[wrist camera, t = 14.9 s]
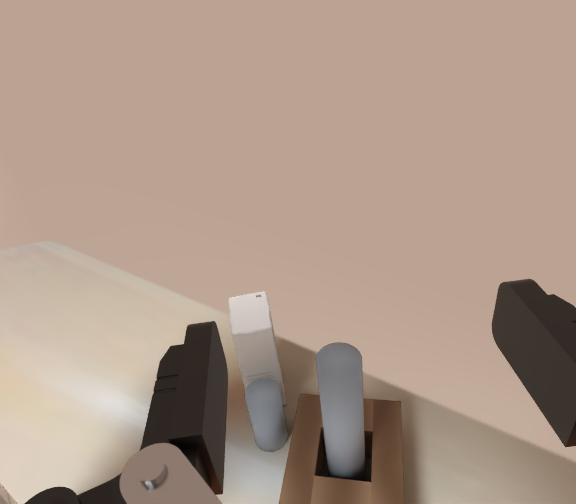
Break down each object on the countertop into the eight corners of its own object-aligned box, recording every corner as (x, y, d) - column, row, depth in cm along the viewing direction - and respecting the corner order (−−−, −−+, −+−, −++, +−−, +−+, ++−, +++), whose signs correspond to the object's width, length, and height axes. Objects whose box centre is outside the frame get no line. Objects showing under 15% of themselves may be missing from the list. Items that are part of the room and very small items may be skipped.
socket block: (282, 539, 38) (276, 515, 35) (303, 418, 47) (299, 393, 45) (403, 557, 36) (405, 532, 33) (399, 426, 45) (400, 401, 43)
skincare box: (245, 372, 54) (227, 296, 47) (280, 366, 54) (267, 288, 48) (249, 414, 49) (230, 334, 42) (287, 406, 49) (274, 326, 42)
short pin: (251, 449, 45) (240, 405, 41) (259, 421, 48) (249, 377, 44) (284, 453, 44) (275, 408, 40) (290, 423, 47) (282, 379, 43)
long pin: (327, 494, 40) (312, 375, 32) (331, 459, 43) (318, 341, 34) (364, 499, 40) (360, 378, 31) (366, 463, 42) (363, 343, 34)
